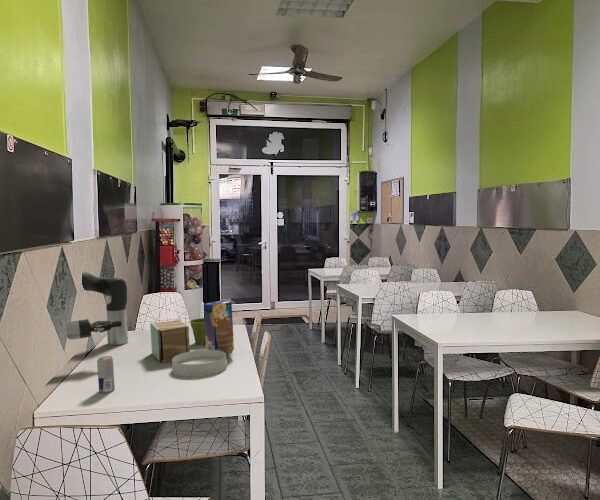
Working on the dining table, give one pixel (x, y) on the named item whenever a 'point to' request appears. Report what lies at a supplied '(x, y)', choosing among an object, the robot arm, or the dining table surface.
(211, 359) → the dish
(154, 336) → the box flap
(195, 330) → the plant pot
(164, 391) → the dining table surface
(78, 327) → the robot arm
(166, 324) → the oak storage box
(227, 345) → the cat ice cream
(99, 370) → the energy drink
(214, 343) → the beverage box
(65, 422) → the dining table surface
